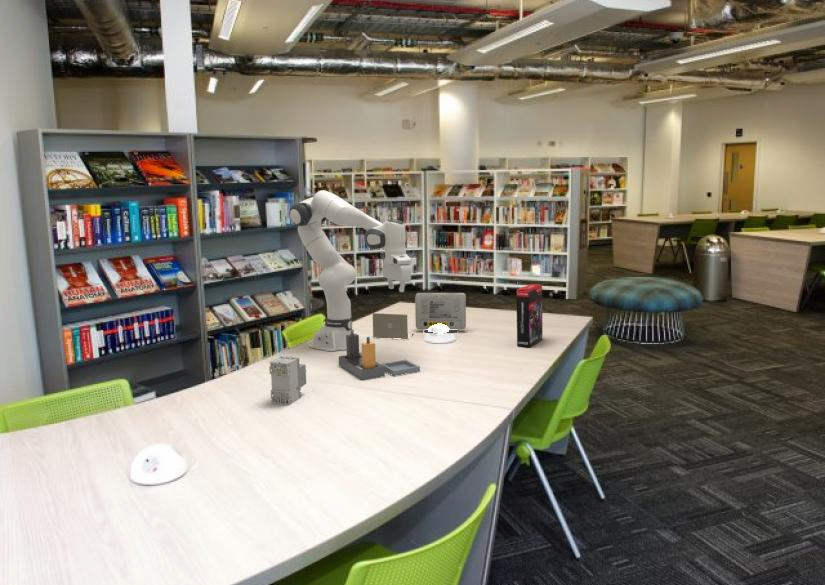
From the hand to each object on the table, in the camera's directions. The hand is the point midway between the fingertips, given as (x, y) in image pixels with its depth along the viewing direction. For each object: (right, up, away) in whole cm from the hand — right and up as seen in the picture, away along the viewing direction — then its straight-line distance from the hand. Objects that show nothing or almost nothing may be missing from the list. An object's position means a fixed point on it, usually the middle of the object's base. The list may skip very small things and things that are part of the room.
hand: (396, 290), depth 276 cm
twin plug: (-18, -31, -2) cm, 36 cm away
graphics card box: (+62, -25, +30) cm, 74 cm away
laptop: (-2, -23, +49) cm, 55 cm away
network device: (+21, -22, +56) cm, 63 cm away
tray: (+2, -33, -9) cm, 34 cm away
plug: (-11, -33, -16) cm, 38 cm away
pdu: (-14, -33, -9) cm, 37 cm away
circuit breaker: (-38, -40, -39) cm, 67 cm away
